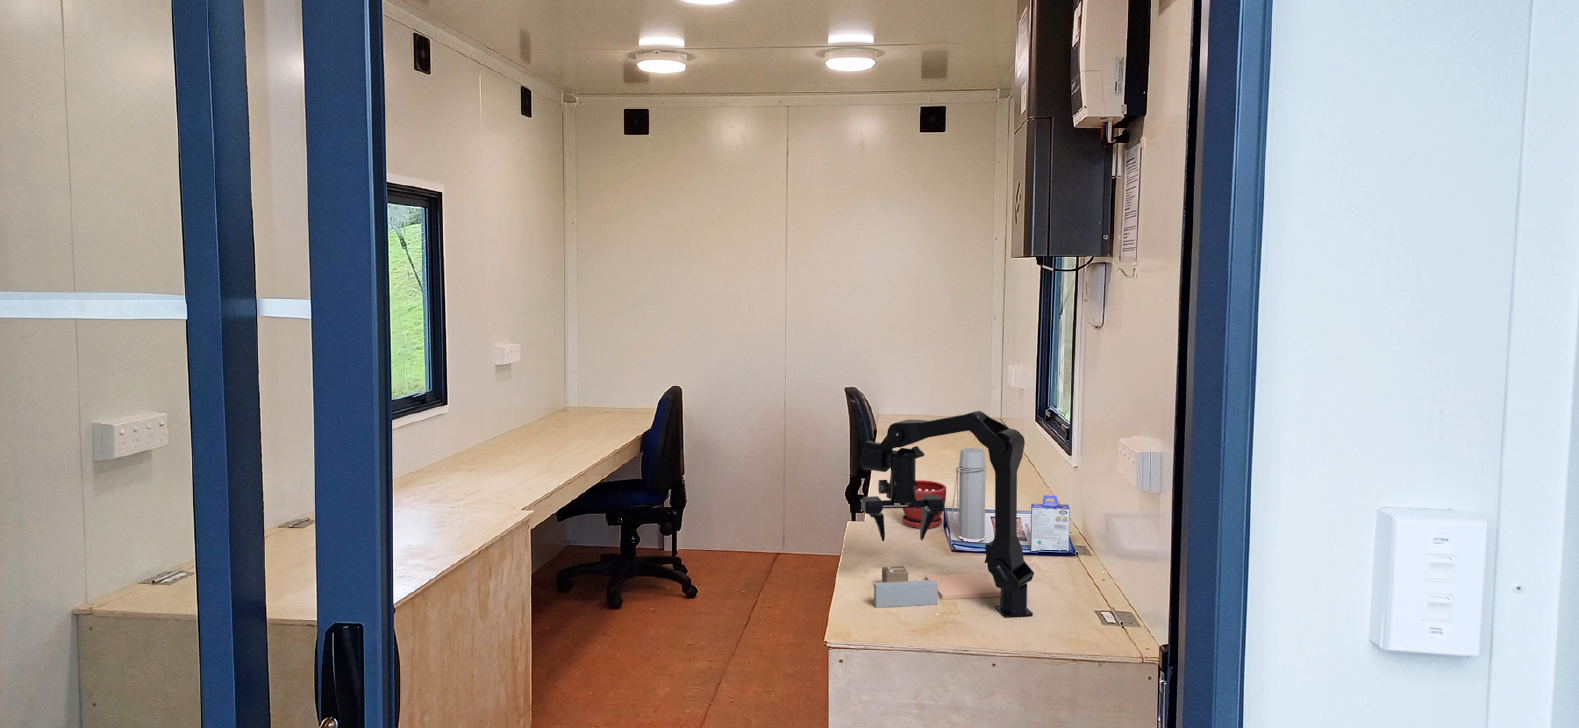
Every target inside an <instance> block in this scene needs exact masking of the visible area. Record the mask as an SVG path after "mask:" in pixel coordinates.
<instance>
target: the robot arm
mask: <svg viewBox="0 0 1579 728" xmlns="http://www.w3.org/2000/svg"><path fill="white" fill-rule="evenodd" d="M963 432H970V433H972V434H973V435H974V437H975V438H976V439H977V440H978V441H979V443H980V444H981V445H983V446H984V447H985V448H987V450H988V457H989V461H990V463H991V465H992V469H993V471H994V537H993V540H992V541H990V542H988V543H986V544H985V547H984V548H985V549H984V550H985V560H984V564H987V565H986V566H987V571H988V572H989V574H991V575H992V578H993V581H994V585H995V586H996V587H997V588H998V589H999V590H1000V596H999V598H1000V601H999V603H1000V604H995V605H994V608H995V609H996V610H997V611H998V612H999V614H1001V616H1003V617H1004V618H1012V617H1013V618H1014V617H1032V616H1033V615H1034V613H1033V611H1032V610H1030V609H1029V608H1028V583H1029V582H1032V580H1033V578H1034V576H1035V571H1033V569H1032V568H1031V567H1030V566H1029V565H1028V563H1027V562H1026V561H1025V558H1024V553H1023V546H1022V544H1021V542H1020V540H1019V538H1018V533H1017V531H1018V529H1017V527H1018V525H1017V523H1018V522H1017V520H1018V518H1017V515H1018V513H1017V510H1018V509H1017V506H1018V505H1017V504H1018V502H1017V501H1018V500H1017V499H1018V470H1019V467H1020V464H1021V462H1022V459H1023V455H1024V450H1025V444H1026V441H1025V437H1024V436H1023V434H1021V432H1020V431H1019V430H1017V429H1015V428H1010V427H1008V426H1007V425H1005V424H1004V423H1002V422H1000V421H998V420H996V419H994V418H992V417H990V416H988V414H986V413H985V412H982V411H981V410H975V411H973V412H969V413H965V414H960V415H954V416H948V417H943V418H938V419H932V420H924V419H905V420H901V421H897V422H894V423H891V424H890V425H889V427H888V429H887V433H886V436H885V437H884V438H883V440H882V441H881V442H876V441H873V440H867V441H864V447H863V448H862V450H861V452H860V455H859V459H858V460H859V465H860V467H861V469H862V470H866V471H867V470H868V471H876V472H882V473H886V472H888V471H889V470H890V476H889V477H890V478H889V482H888V480H887V479H879V480H878V485H877V486H878V493H879V494H880V495H886V496H885V497H886V499H887V500H882V499H881V498H880V497H879V496H874V495H873V496H863V497H862V498H861V502H860V503H861V504H860V508H861V510H862V511H863V512H864V514H867V515H869V516H870V517H871V518H873V519H874V521H875V523H876V526H877V529H878V533H879V535H880V540H881V541H882V542H885V536H886V535H885V534H886V533H885V517H884V516H885V515H884V514H883V512H882V511H883V510H885V509H903V508H920V507H921V513H922V518H921V528H919V538H920V540H921V541H923V540H924V538H925V536H926V534H927V532H928V529H929V528H928V527H929V525H930V523H931V522H932V520H933V519H934V517H935V516H936V515H939V512H942V513H944V512H945V511H946V502H945V503H944V500H943V499H941V498H940V497H939V496H938V495H923V497H922V499H916V498H915V486H916V481H915V480H916V459H919V458H922V457H925V453H924V452H923V450H921V449H920V448H919V446H918V445H917V446H912V447H911V448H905V447H906V446H909V445H913V444H915V443H918V442H921V441H923V440H926V439H928V438H933V437H939V436H945V435H951V434H957V433H963ZM896 448H899V449H898V450H894V449H896ZM905 503H906V504H905ZM907 503H911V504H907Z"/></svg>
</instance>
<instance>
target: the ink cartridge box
mask: <svg viewBox="0 0 1579 728" xmlns="http://www.w3.org/2000/svg"><path fill="white" fill-rule="evenodd" d="M1047 499H1053V500H1054V501H1052V500H1047ZM1030 509H1031V510H1030V552H1031V551H1036V550H1040V549H1041V550H1042V549H1045V550H1046V549H1048V550H1059V551H1060V550H1067V551H1069V549H1070V524H1071V523H1070V519H1071V516H1070V514H1071V512H1070V510H1071V509H1070V506H1069V504H1067V503H1066V504H1065V503H1063V504H1061V503H1060V504H1058V496H1057V495H1043V498H1042V503H1031V508H1030Z"/></svg>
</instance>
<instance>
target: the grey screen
mask: <svg viewBox="0 0 1579 728" xmlns="http://www.w3.org/2000/svg"><path fill="white" fill-rule="evenodd" d="M938 597H939V595H938V582H937V581H936V580H925V579H924V580H910V581H909V580H908V581H904V582H884V583H882V582H874V583H873V598H874V599H873V605H874V604H875V605H874V607H875V606H876V607H875V609H877V608H878V607H879V609H881V608H880V607H884V608H893V607H892V606H902V607H917V605H920V606H932V605H933V606H936V605H938ZM935 604H936V605H935ZM890 606H891V607H890Z"/></svg>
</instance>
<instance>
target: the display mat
mask: <svg viewBox="0 0 1579 728" xmlns="http://www.w3.org/2000/svg"><path fill="white" fill-rule="evenodd" d="M924 578H925V579H924V580H936V581H937V582H938V597H940V598H941V600H955V599H957V600H958V599H973V598H974V599H975V598H992V597H993V598H994V597H1000V588H997V587H996V585H995V583H993V582H992V581H991V580H990V579H989V578H988V577H986V575H984V574H983V573H982V572H973V573H972V572H971V573H949V574H932V575H924Z"/></svg>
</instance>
